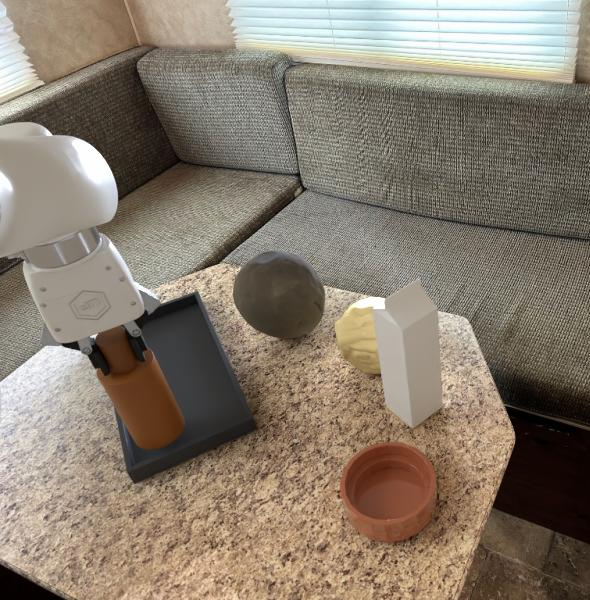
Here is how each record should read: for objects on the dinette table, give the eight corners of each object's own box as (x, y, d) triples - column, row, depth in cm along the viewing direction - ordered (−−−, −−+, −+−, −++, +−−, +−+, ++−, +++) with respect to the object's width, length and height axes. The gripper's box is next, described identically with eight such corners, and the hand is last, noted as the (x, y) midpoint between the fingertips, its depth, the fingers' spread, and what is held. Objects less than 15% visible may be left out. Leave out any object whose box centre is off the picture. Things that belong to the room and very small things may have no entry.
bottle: (138, 458, 81) (82, 363, 70) (130, 422, 86) (77, 329, 75) (189, 435, 84) (144, 341, 72) (179, 402, 89) (135, 309, 77)
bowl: (369, 562, 71) (365, 542, 68) (331, 487, 79) (325, 466, 76) (454, 515, 74) (453, 494, 71) (409, 449, 83) (406, 428, 80)
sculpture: (340, 387, 92) (328, 335, 85) (344, 334, 102) (334, 283, 95) (414, 382, 92) (409, 330, 85) (412, 329, 101) (407, 278, 94)
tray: (134, 484, 82) (126, 472, 80) (103, 336, 106) (97, 325, 105) (258, 429, 87) (254, 417, 86) (202, 301, 112) (197, 290, 110)
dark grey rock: (309, 294, 111) (293, 224, 101) (345, 336, 101) (331, 263, 92) (236, 325, 106) (212, 255, 96) (267, 373, 96) (243, 300, 87)
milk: (443, 406, 88) (438, 288, 74) (412, 430, 85) (401, 311, 71) (415, 384, 92) (405, 267, 78) (384, 406, 89) (368, 289, 75)
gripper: (-26, 285, 60) (56, 408, 71) (145, 232, 65) (195, 354, 76) (-24, 249, 65) (52, 369, 77) (134, 203, 70) (183, 321, 82)
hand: (123, 360), depth 76 cm, fingers closed on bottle, 3 cm apart
